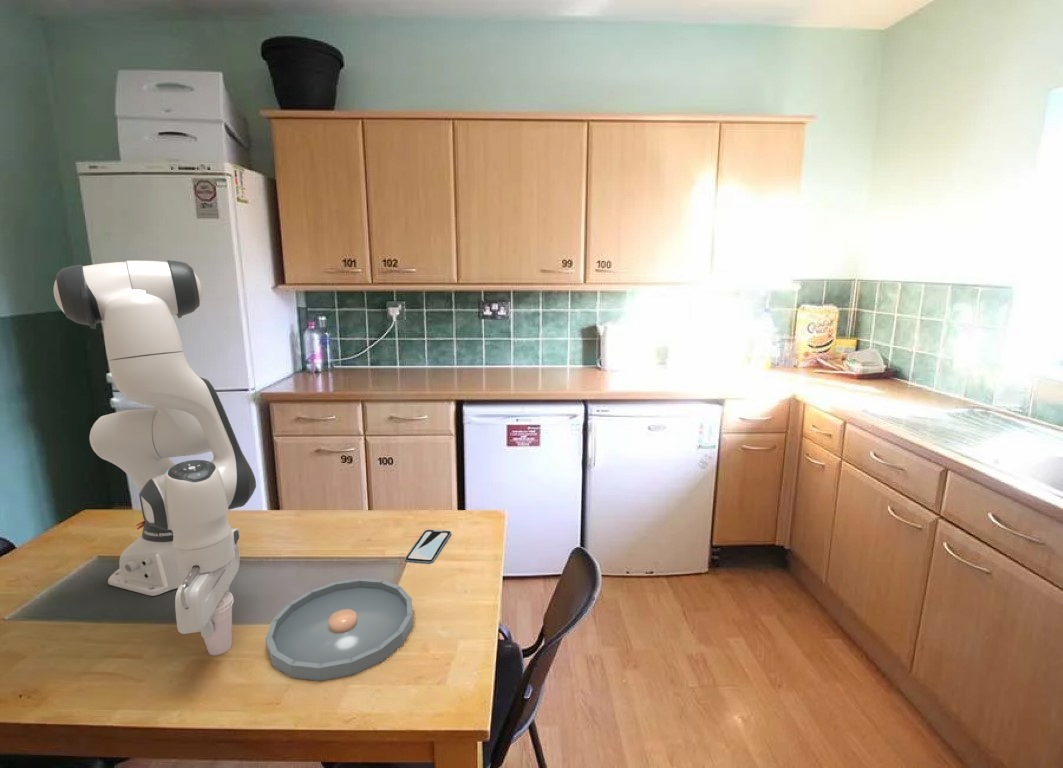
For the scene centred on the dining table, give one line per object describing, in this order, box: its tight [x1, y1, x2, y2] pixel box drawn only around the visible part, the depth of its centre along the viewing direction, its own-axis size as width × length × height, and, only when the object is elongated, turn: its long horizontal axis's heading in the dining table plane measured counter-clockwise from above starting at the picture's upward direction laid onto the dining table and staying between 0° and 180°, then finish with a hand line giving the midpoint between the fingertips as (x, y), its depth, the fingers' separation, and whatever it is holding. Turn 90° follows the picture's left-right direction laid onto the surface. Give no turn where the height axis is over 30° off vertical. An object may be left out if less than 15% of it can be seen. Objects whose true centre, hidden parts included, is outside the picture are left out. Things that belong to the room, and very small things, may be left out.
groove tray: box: [265, 577, 414, 682], centre depth 102 cm, size 26×26×2 cm
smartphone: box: [404, 529, 452, 565], centre depth 132 cm, size 7×1×15 cm
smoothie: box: [203, 591, 235, 656], centre depth 96 cm, size 6×6×14 cm
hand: (216, 622), depth 96 cm, fingers open, 6 cm apart
